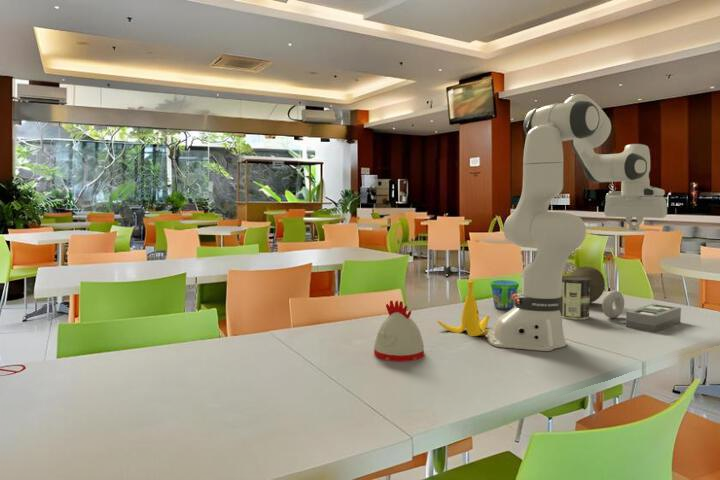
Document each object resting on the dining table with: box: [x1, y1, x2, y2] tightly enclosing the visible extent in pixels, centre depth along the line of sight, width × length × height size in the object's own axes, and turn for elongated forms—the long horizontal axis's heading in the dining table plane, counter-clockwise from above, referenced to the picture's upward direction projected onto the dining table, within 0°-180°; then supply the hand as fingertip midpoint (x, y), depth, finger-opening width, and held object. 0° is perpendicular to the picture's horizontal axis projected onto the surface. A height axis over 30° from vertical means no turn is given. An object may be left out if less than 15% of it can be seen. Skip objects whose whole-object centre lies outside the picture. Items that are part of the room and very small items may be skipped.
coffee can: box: [561, 275, 590, 321], centre depth 188 cm, size 10×10×14 cm
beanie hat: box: [373, 300, 425, 362], centre depth 146 cm, size 14×14×15 cm
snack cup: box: [490, 279, 520, 311], centre depth 204 cm, size 16×10×10 cm
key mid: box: [645, 306, 663, 312], centre depth 176 cm, size 4×4×2 cm
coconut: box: [569, 266, 606, 304], centre depth 209 cm, size 14×14×15 cm
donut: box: [601, 289, 625, 319], centre depth 185 cm, size 10×4×10 cm, turn 119°
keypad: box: [625, 303, 682, 333], centre depth 176 cm, size 20×9×5 cm, turn 128°
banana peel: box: [436, 280, 490, 337], centre depth 169 cm, size 17×19×17 cm
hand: (633, 230), depth 185 cm, fingers closed
